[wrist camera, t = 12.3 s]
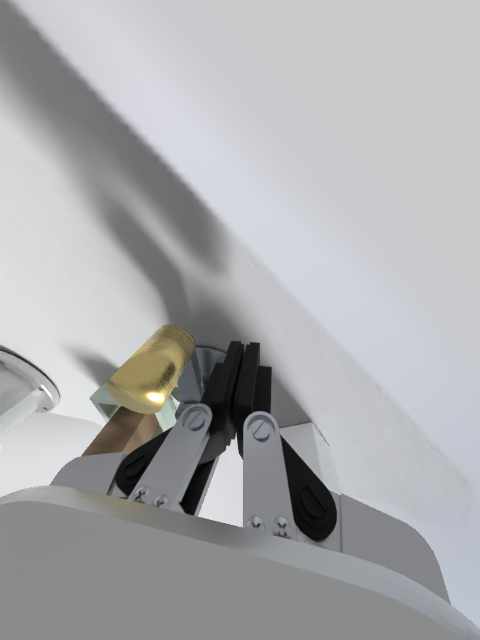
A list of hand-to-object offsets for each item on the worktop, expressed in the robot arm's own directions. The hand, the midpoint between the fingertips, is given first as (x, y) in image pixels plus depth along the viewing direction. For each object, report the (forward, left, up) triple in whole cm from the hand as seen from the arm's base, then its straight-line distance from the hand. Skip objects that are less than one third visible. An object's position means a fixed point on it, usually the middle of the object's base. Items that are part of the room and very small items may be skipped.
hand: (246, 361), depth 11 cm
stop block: (-15, -15, -5) cm, 22 cm away
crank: (-5, -5, -2) cm, 8 cm away
